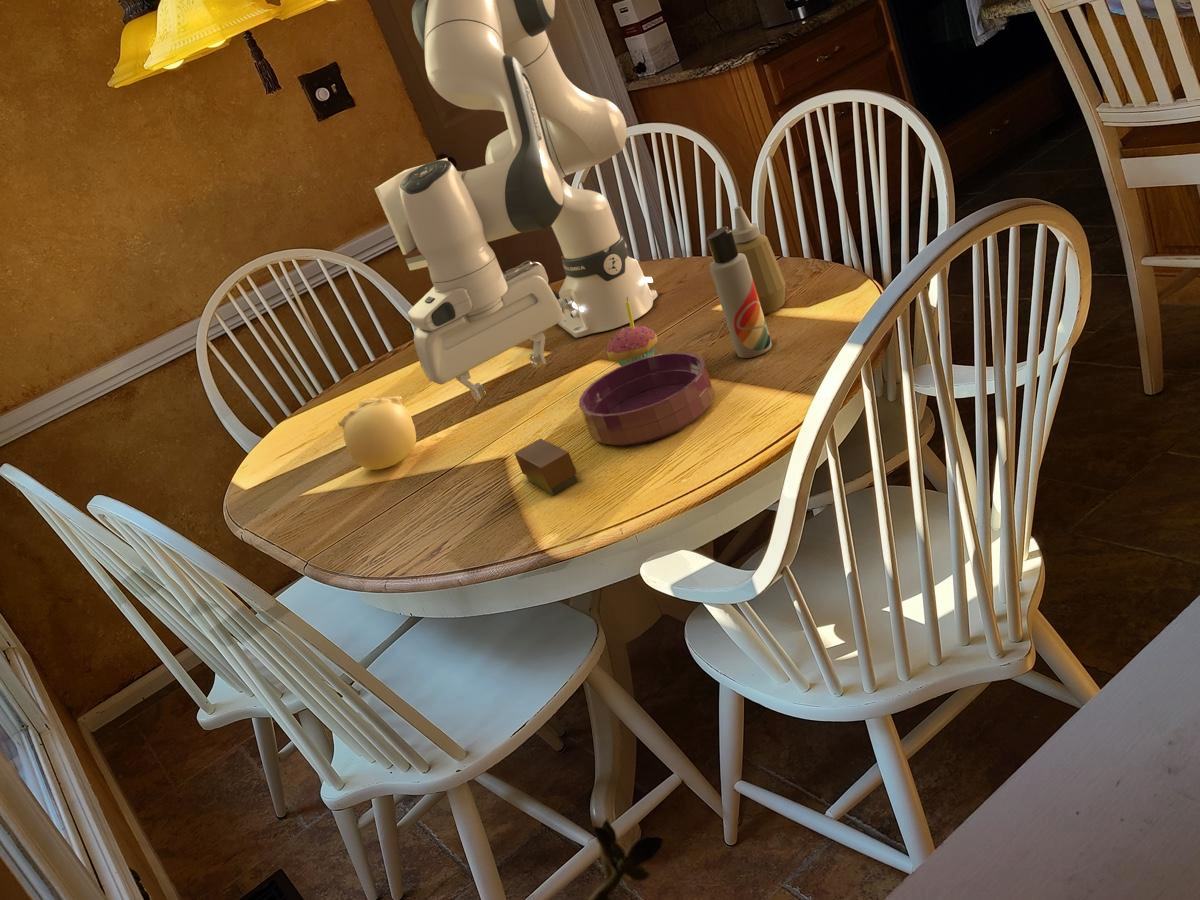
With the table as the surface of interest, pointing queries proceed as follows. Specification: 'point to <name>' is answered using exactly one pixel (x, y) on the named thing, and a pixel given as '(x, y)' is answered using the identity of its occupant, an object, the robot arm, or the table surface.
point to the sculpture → (379, 432)
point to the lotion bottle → (738, 295)
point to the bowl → (647, 399)
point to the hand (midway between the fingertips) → (510, 381)
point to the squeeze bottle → (759, 262)
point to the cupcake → (631, 342)
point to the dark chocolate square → (547, 466)
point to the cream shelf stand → (400, 219)
